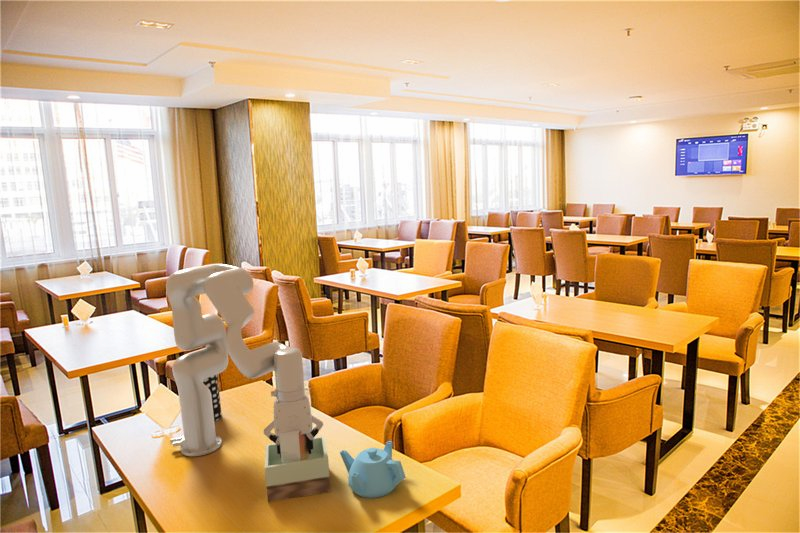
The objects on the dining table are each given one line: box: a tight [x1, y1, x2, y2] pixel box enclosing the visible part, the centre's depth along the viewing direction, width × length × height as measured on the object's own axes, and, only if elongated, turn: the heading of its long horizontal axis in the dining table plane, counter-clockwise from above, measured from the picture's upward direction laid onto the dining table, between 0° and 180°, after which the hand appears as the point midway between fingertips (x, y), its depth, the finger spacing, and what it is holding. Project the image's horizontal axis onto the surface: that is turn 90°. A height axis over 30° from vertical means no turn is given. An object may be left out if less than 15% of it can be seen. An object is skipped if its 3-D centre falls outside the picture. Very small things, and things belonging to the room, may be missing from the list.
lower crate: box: [266, 476, 332, 503], centre depth 150 cm, size 17×13×4 cm
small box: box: [279, 430, 310, 464], centre depth 148 cm, size 8×6×10 cm
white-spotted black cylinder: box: [203, 374, 223, 423], centre depth 193 cm, size 8×8×20 cm
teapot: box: [339, 440, 407, 499], centre depth 146 cm, size 15×15×11 cm
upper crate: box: [264, 435, 330, 488], centre depth 149 cm, size 17×13×5 cm
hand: (295, 453), depth 148 cm, fingers closed on small box, 7 cm apart
